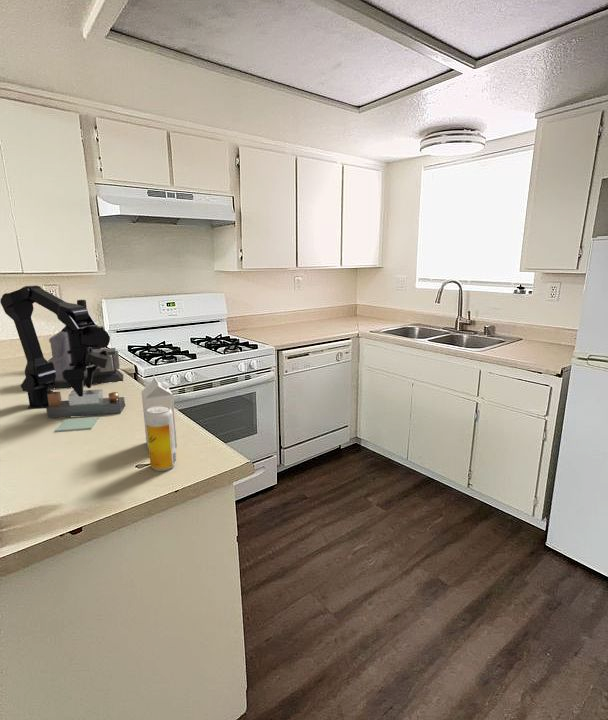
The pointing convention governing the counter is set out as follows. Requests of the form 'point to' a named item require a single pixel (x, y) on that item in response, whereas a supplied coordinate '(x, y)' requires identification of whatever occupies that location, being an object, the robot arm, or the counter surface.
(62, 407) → the hand plane
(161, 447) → the beer can
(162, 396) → the milk carton
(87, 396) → the lever cap
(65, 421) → the mat
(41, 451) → the counter surface
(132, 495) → the counter surface
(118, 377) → the juicer
